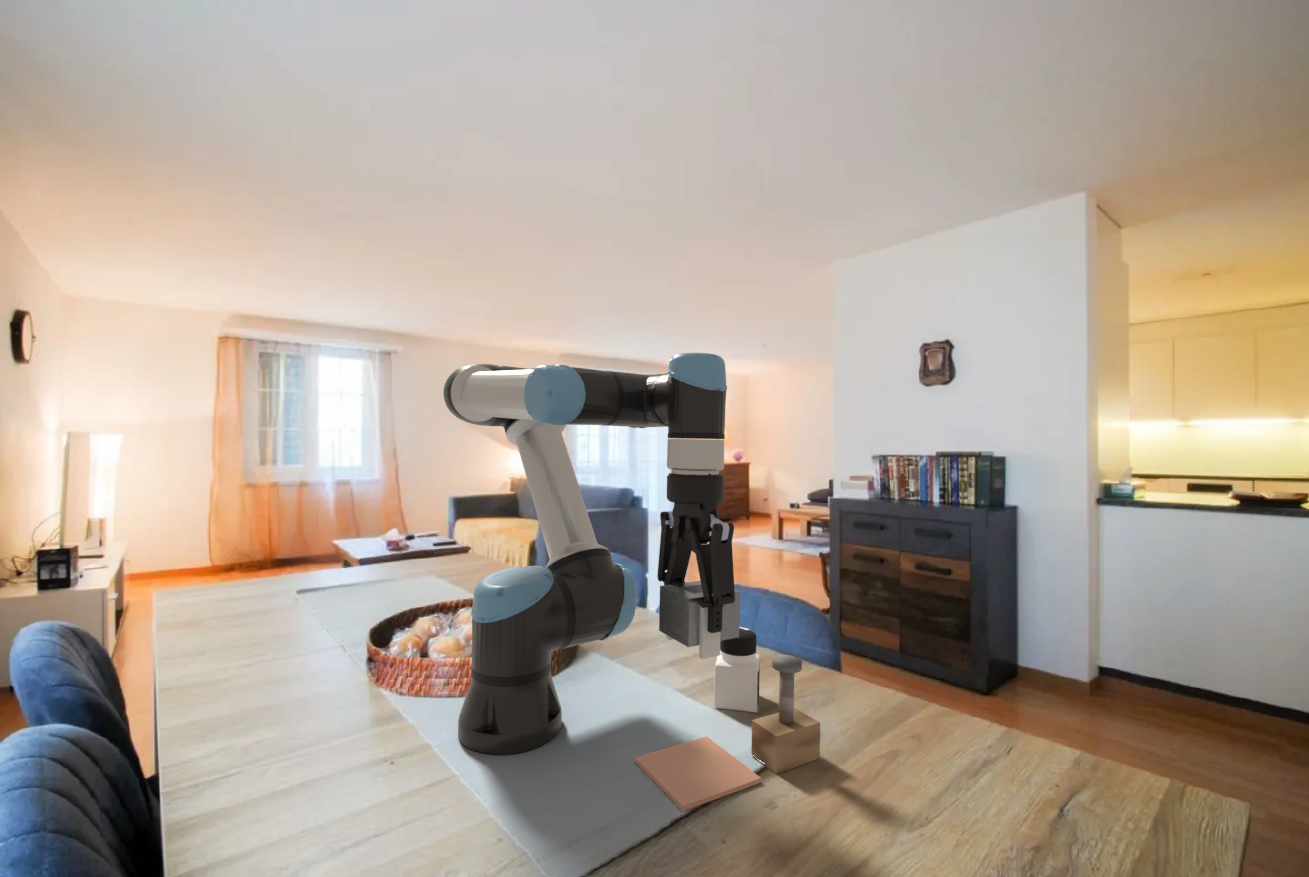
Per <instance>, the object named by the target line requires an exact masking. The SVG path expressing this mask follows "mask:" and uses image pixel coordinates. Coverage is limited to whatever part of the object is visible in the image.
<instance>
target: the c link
mask: <svg viewBox="0 0 1309 877" xmlns="http://www.w3.org/2000/svg"><path fill="white" fill-rule="evenodd" d="M734 591H735V601H734V603H730V604H725V605H724V606H723V609H722V630H721V632H720V641H722V640H727V639H732V638H737V637H739V627H740V616H741V615H740V614H741V612H740V608H741V607H740V604H741V591H740V590H737V589H735V588H734ZM712 596H713V594H712ZM700 603H705V602H704V597H703V591H702V586H701V580H695V581H688V582H687V581H686V583H679V584H671V585H664V584H663V585H660V586H659V618H658V625H659V626H658V631H659V632H661V633H663V634H664V635H665V636H667V635H668V636H669V637H671V638H673V639H672V640H675V641H676V642H678V643H680V644H682V645H683V646H684V647H685V646H686V647H687V648H692V647H697V646H699V636H700Z"/></svg>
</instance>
